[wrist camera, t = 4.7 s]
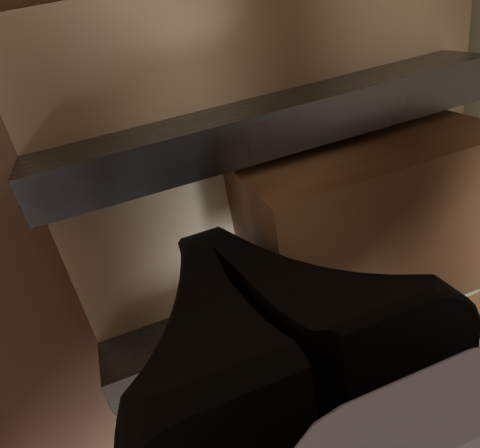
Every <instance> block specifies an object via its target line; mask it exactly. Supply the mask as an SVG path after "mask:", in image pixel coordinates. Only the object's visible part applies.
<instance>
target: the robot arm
mask: <svg viewBox="0 0 480 448" xmlns="http://www.w3.org/2000/svg"><path fill="white" fill-rule="evenodd" d="M178 246H179V250H180V253H181V266H180V277H179V283H178V288H177V293H176V298H175V301H174V305H173V308H172V311H171V314H170V317H169V320H168V322H167V324H166V327H165V329H164V331H163V334H162V336H161V338H160V340H159V342H158V344H157V346H156V347H155V349H154V351H153V352H152V354H151V356H150V358H149V359H148V361H147V363H146V364H145V366H144V367H143V369H142V370H141V372H140V373H139V374H138V375H137V377H136V378H135V379H134V380H133V382H132V383H131V384H130V386H129V387H128V388H127V389H126V390H125V392H124V393H123V394H122V395H121V397H120V402H119V408H118V414H117V420H116V428H115V439H114V448H480V347H479V339H480V315H479V313H478V310H477V307H476V305H475V304H474V303H473V302H472V301H471V300H470V299H469V298H468V297H466V296H465V295H463V294H462V293H461V292H459V291H458V290H456V289H455V288H453V287H452V286H451V285H449V284H448V283H446V282H445V281H444V280H442V279H441V278H439V277H438V276H436V275H434V274H395V275H393V274H375V273H362V272H353V271H345V270H339V269H333V268H327V267H322V266H317V265H313V264H310V263H306V262H302V261H298V260H295V259H291V258H288V257H285V256H283V255H280V254H277V253H274V252H272V251H269V250H267V249H264V248H262V247H260V246H257V245H255V244H253V243H251V242H249V241H247V240H245V239H243V238H241V237H239V236H237V235H235V234H233V233H231V232H229V231H227V230H225V229H223V228H221V227H216V228H212V229H209V230H206V231H203V232H200V233H196V234H193V235H190V236H187V237H184V238H181V239H180V240H179V242H178Z"/></svg>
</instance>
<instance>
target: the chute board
mask: <svg viewBox="0 0 480 448" xmlns="http://www.w3.org/2000/svg"><path fill="white" fill-rule="evenodd" d="M441 50H450V51H462V52H474V53H480V0H63V1H57V2H52V3H46V4H41V5H35V6H30V7H24V8H18V9H13V10H7V11H2V12H0V116H1V118H2V120H3V123H4V125H5V127H6V130H7V132H8V134H9V137H10V139H11V141H12V144H13V146H14V148H15V151H16V153H17V155H18V156H21V155H25V154H29V153H33V152H37V151H41V150H45V149H49V148H53V147H57V146H61V145H65V144H69V143H73V142H77V141H81V140H85V139H89V138H93V137H97V136H101V135H105V134H109V133H113V132H117V131H121V130H125V129H129V128H133V127H137V126H141V125H145V124H149V123H153V122H157V121H161V120H165V119H169V118H173V117H177V116H181V115H185V114H189V113H193V112H197V111H201V110H205V109H209V108H213V107H217V106H221V105H225V104H229V103H233V102H237V101H241V100H245V99H249V98H253V97H257V96H261V95H265V94H269V93H273V92H277V91H281V90H285V89H289V88H293V87H297V86H301V85H305V84H309V83H313V82H317V81H321V80H325V79H329V78H333V77H337V76H341V75H345V74H349V73H353V72H357V71H361V70H365V69H369V68H373V67H377V66H381V65H385V64H389V63H393V62H397V61H401V60H405V59H409V58H413V57H417V56H421V55H425V54H429V53H433V52H437V51H441ZM448 110H449V111H453V112H457V113H461V114H465V115H469V116H473V117H477V118H480V100H479V101H476V102H472V103H469V104H465V105H462V106H458V107H455V108H451V109H448ZM47 225H48V228H49V230H50V232H51V235H52V237H53V239H54V242H55V244H56V246H57V249H58V251H59V253H60V256H61V258H62V260H63V263H64V265H65V267H66V270H67V272H68V274H69V277H70V279H71V281H72V284H73V286H74V288H75V291H76V293H77V295H78V298H79V300H80V302H81V305H82V307H83V309H84V312H85V314H86V316H87V319H88V321H89V323H90V326H91V328H92V330H93V333H94V335H95V337H96V340H97V342H98V343H99V342H101V341H104V340H107V339H110V338H113V337H116V336H118V335H121V334H124V333H127V332H130V331H133V330H136V329H138V328H141V327H144V326H147V325H150V324H153V323H155V322H158V321H161V320H164V319H167V318H169V317H170V314H171V311H172V308H173V305H174V301H175V298H176V293H177V288H178V283H179V277H180V266H181V253H180V250H179V246H178V242H179V240H180V239H181V238H184V237H187V236H190V235H193V234H196V233H200V232H203V231H206V230H209V229H212V228H216V227H221V228H223V229H225V230H227V231H229V232H231V233H233V234H235V232H234V227H233V222H232V217H231V212H230V207H229V202H228V197H227V192H226V187H225V182H224V177H223V174H221V175H218V176H214V177H211V178H207V179H204V180H200V181H197V182H193V183H190V184H186V185H183V186H179V187H176V188H173V189H169V190H166V191H162V192H159V193H155V194H152V195H148V196H145V197H141V198H138V199H134V200H131V201H127V202H124V203H120V204H117V205H113V206H110V207H106V208H103V209H99V210H96V211H92V212H89V213H85V214H82V215H78V216H75V217H71V218H68V219H64V220H61V221H57V222H54V223H50V224H47ZM478 292H480V289H478V290H475V291H473V292H470V293H468V294H465V296H466V297H468V296H470V295H473V294H475V293H478Z"/></svg>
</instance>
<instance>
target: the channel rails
mask: <svg viewBox="0 0 480 448" xmlns="http://www.w3.org/2000/svg"><path fill="white" fill-rule="evenodd" d="M479 100H480V53H474V52H462V51H450V50H441V51H437V52H433V53H429V54H425V55H421V56H417V57H413V58H409V59H405V60H401V61H397V62H393V63H389V64H385V65H381V66H377V67H373V68H369V69H365V70H361V71H357V72H353V73H349V74H345V75H341V76H337V77H333V78H329V79H325V80H321V81H317V82H313V83H309V84H305V85H301V86H297V87H293V88H289V89H285V90H281V91H277V92H273V93H269V94H265V95H261V96H257V97H253V98H249V99H245V100H241V101H237V102H233V103H229V104H225V105H221V106H217V107H213V108H209V109H205V110H201V111H197V112H193V113H189V114H185V115H181V116H177V117H173V118H169V119H165V120H161V121H157V122H153V123H149V124H145V125H141V126H137V127H133V128H129V129H125V130H121V131H117V132H113V133H109V134H105V135H101V136H97V137H93V138H89V139H85V140H81V141H77V142H73V143H69V144H65V145H61V146H57V147H53V148H49V149H45V150H41V151H37V152H33V153H29V154H25V155H21V156H18V157H17V160H16V162H15V165H14V167H13V170H12V172H11V175H10V177H9V180H8V183H9V185H10V187H11V189H12V191H13V194H14V196H15V198H16V200H17V203H18V205H19V207H20V209H21V211H22V214H23V216H24V218H25V220H26V222H27V225H28V227H29V229H33V228H37V227H40V226H43V225H47V224H50V223H54V222H57V221H61V220H64V219H68V218H71V217H75V216H78V215H82V214H85V213H89V212H92V211H96V210H99V209H103V208H106V207H110V206H113V205H117V204H120V203H124V202H127V201H131V200H134V199H138V198H141V197H145V196H148V195H152V194H155V193H159V192H162V191H166V190H169V189H173V188H176V187H179V186H183V185H186V184H190V183H193V182H197V181H200V180H204V179H207V178H211V177H214V176H218V175H221V174H225V173H228V172H232V171H235V170H239V169H242V168H246V167H249V166H253V165H256V164H260V163H263V162H267V161H270V160H274V159H277V158H281V157H284V156H288V155H291V154H295V153H298V152H302V151H305V150H309V149H312V148H315V147H319V146H322V145H326V144H329V143H333V142H336V141H340V140H343V139H347V138H350V137H354V136H357V135H361V134H364V133H368V132H371V131H375V130H378V129H382V128H385V127H389V126H392V125H396V124H399V123H403V122H406V121H410V120H413V119H417V118H420V117H424V116H427V115H431V114H434V113H438V112H441V111H445V110H448V109H451V108H455V107H458V106H462V105H465V104H469V103H472V102H476V101H479ZM168 320H169V318H167V319H164V320H161V321H158V322H155V323H153V324H150V325H147V326H144V327H141V328H138V329H136V330H133V331H130V332H127V333H124V334H121V335H118V336H116V337H113V338H110V339H107V340H104V341H101V342H99V343H98V351H99V364H100V377H101V388H102V390H103V392H104V395H105V397H106V399H107V401H108V403H109V406H110V408H111V410H112V412H113V414H114V415H117V414H118V408H119V402H120V397H121V395H122V394H123V393H124V392H125V390H126V389H127V388H128V387H129V386H130V384H131V383H132V382H133V380H134V379H135V378H136V377H137V375H138V374H139V373H140V372H141V370H142V369H143V367H144V366H145V364H146V363H147V361H148V359H149V358H150V356H151V354H152V352H153V351H154V349H155V347H156V346H157V344H158V342H159V340H160V338H161V336H162V334H163V331H164V329H165V327H166V324H167V322H168Z"/></svg>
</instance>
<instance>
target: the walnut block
mask: <svg viewBox="0 0 480 448" xmlns="http://www.w3.org/2000/svg"><path fill="white" fill-rule="evenodd" d="M223 177H224V182H225V187H226V192H227V197H228V202H229V207H230V212H231V217H232V222H233V227H234V232H235V235H237V236H239V237H241V238H243V239H245V240H247V241H249V242H251V243H253V244H255V245H257V246H260V247H262V248H264V249H267V250H269V251H272V252H274V253H277V254H280V255H283V256H285V257H288V258H291V259H295V260H298V261H302V262H306V263H310V264H313V265H317V266H322V267H327V268H333V269H339V270H345V271H353V272H362V273H375V274H393V275H395V274H434V275H436V276H438V277H439V278H441V279H442V280H444V281H445V282H446V283H448V284H449V285H451V286H452V287H453V288H455V289H456V290H458V291H459V292H461V293H462V294H463V295H465V294H468V293H470V292H473V291H475V290H478V289H480V118H477V117H473V116H469V115H465V114H461V113H457V112H453V111H449V110H445V111H441V112H438V113H434V114H431V115H427V116H424V117H420V118H417V119H413V120H410V121H406V122H403V123H399V124H396V125H392V126H389V127H385V128H382V129H378V130H375V131H371V132H368V133H364V134H361V135H357V136H354V137H350V138H347V139H343V140H340V141H336V142H333V143H329V144H326V145H322V146H319V147H315V148H312V149H309V150H305V151H302V152H298V153H295V154H291V155H288V156H284V157H281V158H277V159H274V160H270V161H267V162H263V163H260V164H256V165H253V166H249V167H246V168H242V169H239V170H235V171H232V172H228V173H225V174H223Z"/></svg>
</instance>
